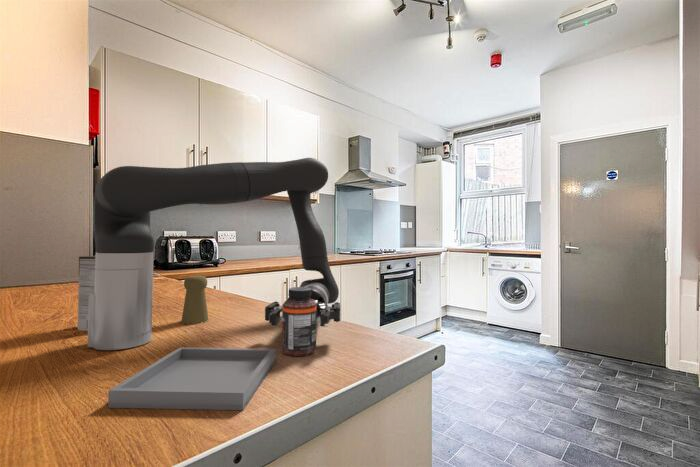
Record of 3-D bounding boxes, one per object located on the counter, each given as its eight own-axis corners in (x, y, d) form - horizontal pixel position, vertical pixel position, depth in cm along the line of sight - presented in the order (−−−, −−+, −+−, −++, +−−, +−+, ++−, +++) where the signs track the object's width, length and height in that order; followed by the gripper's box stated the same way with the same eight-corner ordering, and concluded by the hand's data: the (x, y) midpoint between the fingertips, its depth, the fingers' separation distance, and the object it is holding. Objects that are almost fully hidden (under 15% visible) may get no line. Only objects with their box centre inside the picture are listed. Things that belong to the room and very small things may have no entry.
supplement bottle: (284, 346, 63) (285, 285, 63) (316, 346, 63) (317, 285, 64) (280, 357, 57) (281, 290, 57) (315, 357, 58) (316, 290, 58)
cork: (201, 324, 79) (202, 277, 79) (176, 324, 79) (177, 276, 79) (212, 318, 85) (213, 274, 85) (188, 318, 85) (189, 274, 85)
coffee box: (113, 320, 81) (115, 254, 82) (136, 322, 80) (138, 254, 80) (76, 330, 72) (78, 255, 73) (100, 332, 71) (102, 256, 71)
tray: (108, 407, 40) (108, 390, 40) (179, 359, 56) (179, 347, 56) (243, 410, 39) (243, 393, 39) (275, 361, 55) (276, 348, 55)
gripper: (278, 285, 75) (257, 297, 59) (342, 286, 75) (339, 299, 58) (278, 319, 75) (256, 341, 59) (342, 320, 75) (338, 342, 58)
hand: (298, 320), depth 59 cm, fingers open, 8 cm apart
